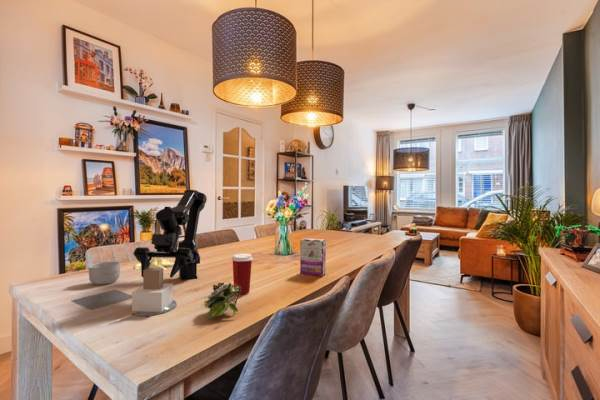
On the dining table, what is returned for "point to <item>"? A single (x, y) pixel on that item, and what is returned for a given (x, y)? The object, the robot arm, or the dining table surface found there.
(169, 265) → the cloth
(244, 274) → the paper cup
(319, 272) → the candy bar box
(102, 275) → the teacup
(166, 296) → the white brown stepped block
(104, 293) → the mat
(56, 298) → the dining table surface
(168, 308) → the grey disc
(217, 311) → the green leafy cluster
